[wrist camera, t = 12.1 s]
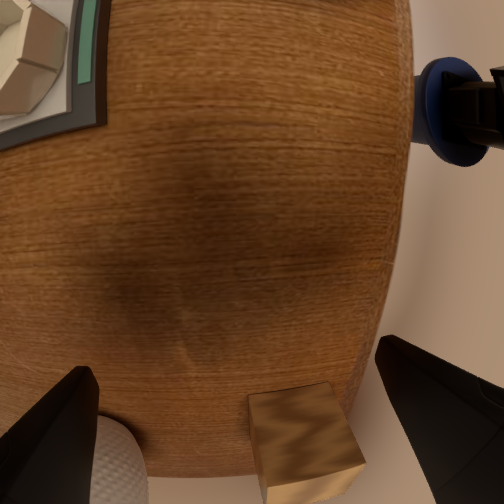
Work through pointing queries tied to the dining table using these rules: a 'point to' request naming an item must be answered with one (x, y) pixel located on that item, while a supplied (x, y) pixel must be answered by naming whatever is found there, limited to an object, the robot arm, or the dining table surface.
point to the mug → (117, 466)
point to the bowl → (28, 55)
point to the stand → (302, 445)
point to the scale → (69, 77)
